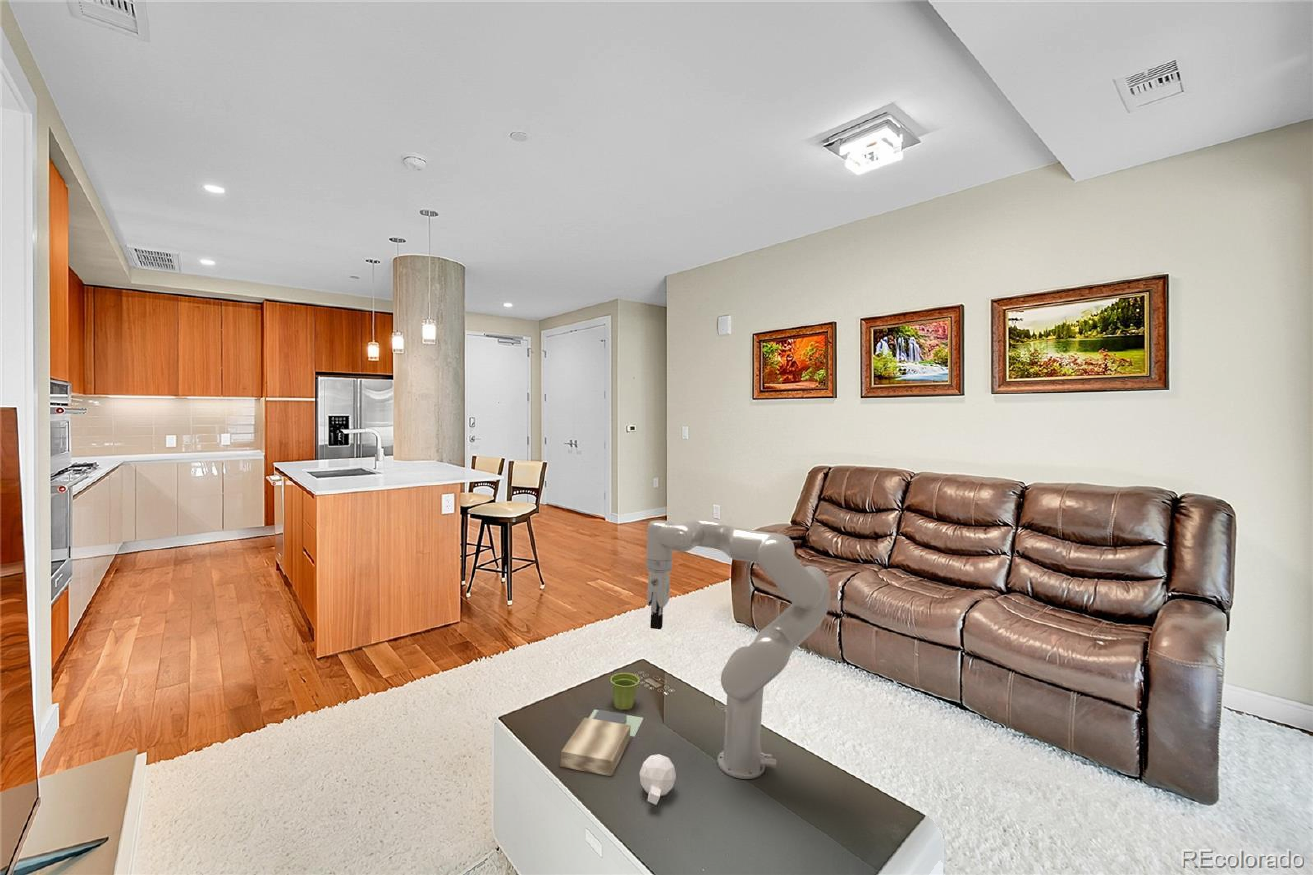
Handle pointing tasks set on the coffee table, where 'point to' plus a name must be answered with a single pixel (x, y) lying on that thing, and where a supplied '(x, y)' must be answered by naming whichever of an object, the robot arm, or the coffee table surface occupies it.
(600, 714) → the grey rectangular block
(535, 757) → the coffee table surface
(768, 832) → the coffee table surface
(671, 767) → the perfume bottle
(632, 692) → the plant pot
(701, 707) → the coffee table surface
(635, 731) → the mat
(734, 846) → the coffee table surface
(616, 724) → the light wood flat block
